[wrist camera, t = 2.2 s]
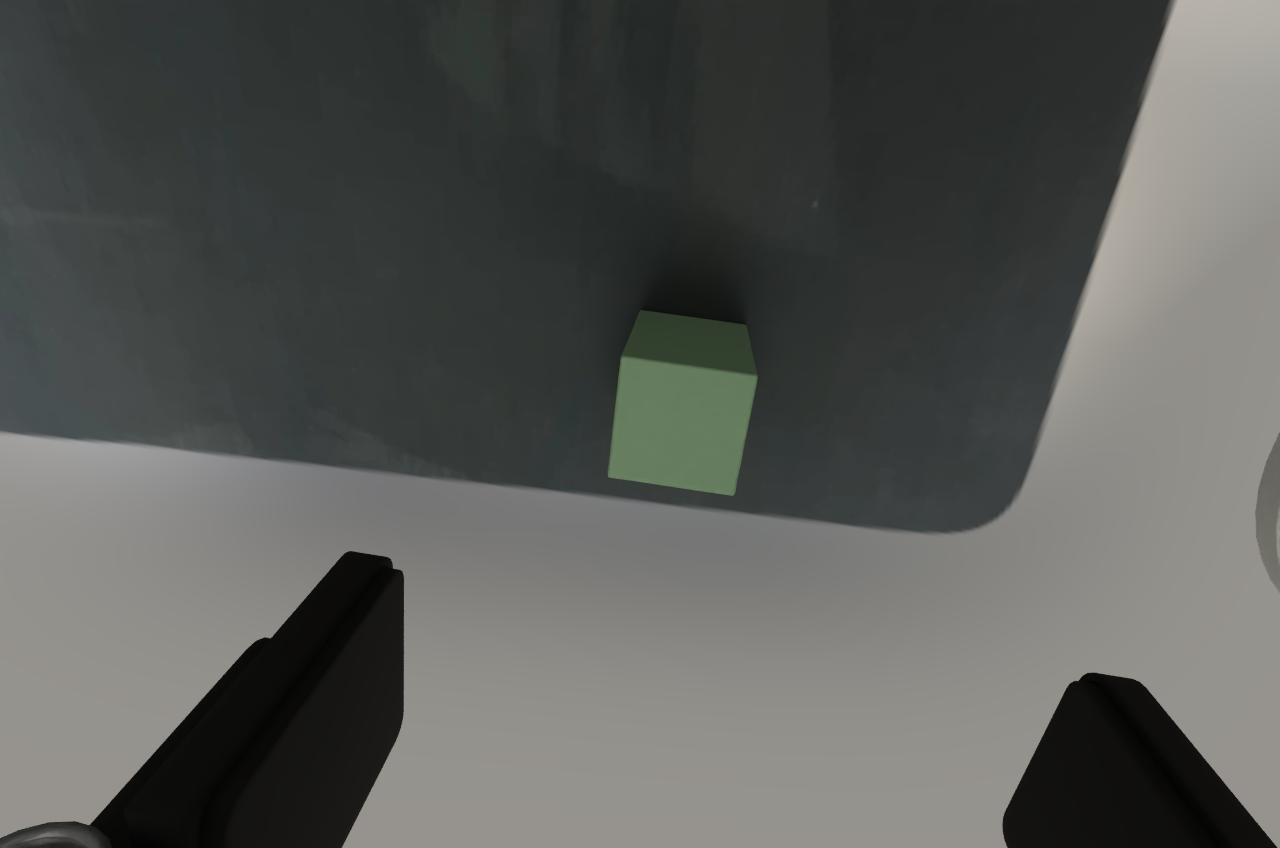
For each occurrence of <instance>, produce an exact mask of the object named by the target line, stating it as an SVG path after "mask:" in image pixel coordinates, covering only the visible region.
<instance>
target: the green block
mask: <svg viewBox="0 0 1280 848" xmlns="http://www.w3.org/2000/svg"><path fill="white" fill-rule="evenodd" d="M757 379H758V376H757V371H756V367H755V362H754V357H753V353H752V348H751V343H750V339H749V334H748V330H747V325H745V324H738V323H730V322H723V321H716V320H709V319H702V318H695V317H687V316H680V315H673V314H666V313H659V312H652V311H645V310H641V311H640V312H639V314H638V316H637V319H636V321H635V324H634V326H633V329H632V331H631V334H630V336H629V339H628V341H627V343H626V346H625V348H624V351H623V353H622V356H621V360H620V368H619V377H618V386H617V395H616V404H615V412H614V421H613V430H612V439H611V448H610V457H609V465H608V477H611V478H617V479H624V480H631V481H637V482H644V483H651V484H657V485H664V486H671V487H677V488H684V489H691V490H697V491H704V492H711V493H717V494H724V495H731V496H733V495H734V494H735V491H736V485H737V480H738V475H739V470H740V465H741V460H742V455H743V450H744V445H745V440H746V435H747V430H748V425H749V420H750V415H751V410H752V405H753V399H754V394H755V389H756V384H757Z"/></svg>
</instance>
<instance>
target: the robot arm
mask: <svg viewBox="0 0 1280 848" xmlns="http://www.w3.org/2000/svg"><path fill="white" fill-rule="evenodd" d="M403 712H404V576H403V573H402V571H401V570H397V569H393V565H392V561H391V559H390V558H388V557H383V556H377V555H371V554H364V553H358V552H353V551H349V552H346V553H345V554H344V555H343V556H342V557H341V558H340V559H339V560H338V561H337V562H336V564H335V565H334V566H333V567H332V568H331V569H330V571H329V572H328V573H327V574H326V575H325V577H324V578H323V579H322V580H321V581H320V582H319V583H318V584H317V586H316V587H315V588H314V589H313V590H312V591H311V593H310V594H309V595H308V596H307V597H306V599H305V600H304V601H303V602H302V603H301V604H300V605H299V607H298V608H297V609H296V610H295V611H294V612H293V613H292V615H291V616H290V617H289V618H288V619H287V620H286V622H285V623H284V624H283V625H282V626H281V627H280V628H279V630H278V631H277V632H276V633H275V634H274V636H273V637H272V638H262V639H260V640H257V641H256V642H254V643H253V644H252V645H251V646H250V647H249V648H248V649H247V650H246V651H245V652H244V653H243V654H242V655H241V656H240V657H239V659H238V660H237V661H236V662H235V663H234V664H233V665H232V666H231V668H230V669H229V670H228V671H227V672H226V673H225V674H224V675H223V676H222V678H221V679H220V680H219V681H218V682H217V683H216V684H215V686H214V687H213V688H212V689H211V690H210V691H209V692H208V693H207V694H206V695H205V697H204V698H203V699H202V700H201V701H200V702H199V703H198V705H197V706H196V707H195V708H194V709H193V710H192V711H191V712H190V713H189V715H188V716H187V717H186V718H185V719H184V720H183V722H181V723H180V725H179V726H178V727H177V728H176V729H175V730H174V732H172V734H171V735H170V736H169V737H168V738H167V739H166V741H165V742H164V743H163V744H162V745H161V746H160V747H159V748H158V749H157V750H156V752H155V753H154V754H153V755H152V756H151V757H150V758H149V759H148V760H147V762H146V763H145V764H144V765H143V766H142V767H141V768H140V770H139V771H138V772H137V773H136V774H135V775H134V776H133V777H132V778H131V780H130V781H129V782H128V783H127V784H126V785H125V786H124V787H123V788H122V790H121V791H120V792H119V793H118V794H117V795H116V796H115V797H114V799H113V800H112V801H111V802H110V803H109V804H108V805H107V806H106V808H105V809H104V810H103V811H102V812H101V813H100V814H99V815H98V817H97V818H96V819H95V820H94V821H93V822H92V823H91V824H90V825H86V824H82V823H79V822H75V821H74V822H50V823H45V824H41V825H37V826H33V827H29V828H25V829H21V830H18V831H16V832H14V833H11V834H9V835H7V836H4V837H2V838H0V848H342V846H343V844H344V842H345V840H346V838H347V836H348V834H349V832H350V830H351V828H352V826H353V824H354V822H355V821H356V819H357V817H358V815H359V812H360V811H361V809H362V807H363V804H364V802H365V801H366V799H367V797H368V795H369V793H370V791H371V789H372V787H373V785H374V783H375V781H376V779H377V777H378V775H379V773H380V771H381V769H382V767H383V765H384V763H385V761H386V759H387V757H388V755H389V753H390V751H391V749H392V747H393V745H394V743H395V742H396V739H397V737H398V734H399V731H400V728H401V725H402V720H403ZM1003 835H1004V839H1005V842H1006V845H1007V847H1008V848H1277V847H1276V845H1275V844H1274V843H1273V842H1272V841H1271V839H1270V838H1269V837H1268V836H1267V835H1266V833H1265V832H1264V831H1263V830H1262V828H1261V827H1260V826H1259V825H1258V823H1257V822H1256V821H1255V820H1254V819H1253V817H1252V816H1251V815H1250V814H1249V813H1248V811H1247V810H1246V809H1245V808H1244V806H1243V805H1242V804H1241V803H1240V802H1239V801H1238V799H1237V798H1236V797H1235V795H1234V794H1233V793H1232V792H1231V791H1230V789H1229V788H1228V787H1227V786H1226V785H1225V783H1224V782H1223V781H1222V780H1221V778H1220V777H1219V776H1218V775H1217V774H1216V772H1215V771H1214V770H1213V769H1212V767H1211V766H1210V765H1209V764H1208V763H1207V761H1206V760H1205V759H1204V758H1203V757H1202V755H1201V754H1200V753H1199V752H1198V750H1197V749H1196V748H1195V747H1194V746H1193V744H1192V743H1191V742H1190V741H1189V739H1188V738H1187V737H1186V736H1185V735H1184V733H1183V732H1182V731H1181V730H1180V729H1179V727H1178V726H1177V725H1176V724H1175V722H1174V721H1173V720H1172V719H1171V717H1170V716H1169V715H1168V714H1167V713H1166V711H1165V710H1164V709H1163V708H1162V707H1161V705H1160V704H1159V703H1158V702H1157V701H1156V699H1155V698H1154V697H1153V696H1152V694H1151V693H1150V692H1149V691H1148V690H1147V688H1146V687H1144V686H1143V685H1142V684H1141V683H1140V682H1139V681H1136V680H1134V679H1130V678H1123V677H1117V676H1111V675H1105V674H1099V673H1087V674H1085V675H1083V676H1082V677H1081V679H1080V680H1079V681H1074V682H1072V683H1070V684H1069V686H1068V687H1067V688H1066V691H1065V692H1064V695H1063V697H1062V699H1061V701H1060V703H1059V705H1058V707H1057V709H1056V711H1055V713H1054V715H1053V717H1052V719H1051V721H1050V723H1049V725H1048V727H1047V729H1046V731H1045V733H1044V735H1043V737H1042V739H1041V741H1040V743H1039V745H1038V747H1037V749H1036V751H1035V753H1034V755H1033V757H1032V759H1031V761H1030V763H1029V765H1028V767H1027V769H1026V771H1025V773H1024V775H1023V777H1022V779H1021V781H1020V783H1019V785H1018V787H1017V789H1016V791H1015V793H1014V795H1013V797H1012V799H1011V801H1010V803H1009V805H1008V807H1007V809H1006V811H1005V814H1004V817H1003Z"/></svg>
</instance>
